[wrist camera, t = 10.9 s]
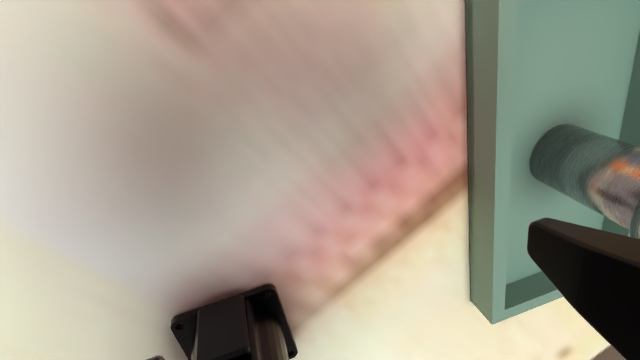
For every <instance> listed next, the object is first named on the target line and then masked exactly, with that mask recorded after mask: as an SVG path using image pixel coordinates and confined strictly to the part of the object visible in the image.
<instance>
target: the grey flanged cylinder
mask: <svg viewBox="0 0 640 360" xmlns="http://www.w3.org/2000/svg"><path fill="white" fill-rule="evenodd" d="M529 166H530V172H531V174H532V176H533V177H534V178H535V179H537V180H538V181H540V182H542V183H544V184H546V185H547V186H549V187H551V188H553V189H555V190H557V191H559V192H560V193H562V194H564V195H566V196H568V197H570V198H571V199H573V200H575V201H577V202H579V203H581V204H582V205H584V206H586V207H588V208H590V209H592V210H593V211H595V212H597V213H599V214H601V215H603V216H605V217H606V218H608V219H610V220H612V221H614V222H616V223H617V224H619V225H621V226H623V227H625V228H627V229H628V230H629V234H630V237H633V238H638V239H640V147H638V146H635V145H632V144H629V143H626V142H623V141H620V140H617V139H614V138H611V137H608V136H605V135H602V134H599V133H596V132H593V131H590V130H587V129H584V128H581V127H578V126H575V125H572V124H563V125H559V126H557V127H555V128H553V129H551V130H549V131H548V132H547V133H546V134H545V135H544V136H543V137H542V138H541V139H540V140H539V141H538V143H537V144H536V146H535V147H534V149H533V151H532V154H531V157H530V164H529Z"/></svg>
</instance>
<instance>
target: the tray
mask: <svg viewBox="0 0 640 360" xmlns="http://www.w3.org/2000/svg"><path fill="white" fill-rule="evenodd" d="M465 9H466V67H467V125H468V183H469V241H470V299H471V302H472V303H473V304H474V305H475V306H476V307H477V308H478V309H479V311H480V312H481V313H482V314H483V315H484V316H485V317H486V318H487V320H488V321H489V322H490V323H491V324H495V323H498V322H500V321H503V320H505V319H508V318H510V317H513V316H515V315H518V314H520V313H523V312H525V311H528V310H530V309H533V308H536V307H538V306H541V305H543V304H546V303H548V302H551V301H553V300H556V299H558V298H561V297H563V295H562V294H561V293H560V292H559V291H558V289H557V288H556V287H555V286H554V285H553V284H552V282H551V281H550V280H549V279H548V278H547V277H546V275H545V274H544V273H543V272H542V271H541V269H540V268H539V267H538V266H537V265H536V264H535V262H534V261H533V260H532V259H531V257H530V256H529V254H528V251H527V239H528V227H529V225H530V223H531V222H533V221H536V220H539V219H542V218H552V219H556V220H561V221H565V222H569V223H573V224H578V225H582V226H586V227H591V228H595V229H599V230H603V231H608V232H612V233H616V234H621V235H625V236H629V237H630V234H629V230H628V229H627V228H625V227H623V226H621V225H619V224H617V223H616V222H614V221H612V220H610V219H608V218H606V217H605V216H603V215H601V214H599V213H597V212H595V211H593V210H592V209H590V208H588V207H586V206H584V205H582V204H581V203H579V202H577V201H575V200H573V199H571V198H570V197H568V196H566V195H564V194H562V193H560V192H559V191H557V190H555V189H553V188H551V187H549V186H547V185H546V184H544V183H542V182H540V181H538V180H537V179H535V178H534V177H533V176H532V174H531V172H530V166H529V164H530V157H531V154H532V151H533V149H534V147H535V146H536V144H537V143H538V141H539V140H540V139H541V138H542V137H543V136H544V135H545V134H546V133H547V132H548V131H549V130H551V129H553V128H555V127H557V126H559V125H563V124H572V125H575V126H578V127H581V128H584V129H587V130H590V131H593V132H596V133H599V134H602V135H605V136H608V137H611V138H614V139H617V140H620V141H623V142H626V143H629V144H632V145H635V146H638V147H640V0H465Z"/></svg>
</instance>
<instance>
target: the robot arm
mask: <svg viewBox="0 0 640 360" xmlns="http://www.w3.org/2000/svg"><path fill="white" fill-rule="evenodd" d="M527 251H528V254H529V256H530V257H531V259H532V260H533V261H534V262H535V264H536V265H537V266H538V267H539V268H540V269H541V271H542V272H543V273H544V274H545V275H546V277H547V278H548V279H549V280H550V281H551V282H552V284H553V285H554V286H555V287H556V288H557V289H558V291H559V292H560V293H561V294H562V295H563V296H564V298H565V299H566V300H567V301H568V302H569V303H570V304H571V306H572V307H573V308H574V309H575V310H576V311H577V312H578V313H579V314H580V315H581V316H582V317H583V318H584V319H585V320H586V321H587V322H588V323H589V324H590V325H591V326H592V327H593V328H594V329H595V330H596V331H597V332H598V333H599V334H600V335H601V336H602V337H603V338H604V339H605V340H606V341H607V342H608V343H610V344H611V345H612V346H613V347H614V348H615V349H616V350H617V351H618V352H619V353H620V354H621V355H622V356H623V357H624V358H625V359H626V360H640V239H638V238H633V237H629V236H625V235H621V234H616V233H612V232H608V231H603V230H599V229H595V228H591V227H586V226H582V225H578V224H573V223H569V222H565V221H561V220H556V219H552V218H542V219H539V220H536V221H533V222H531V223H530V225H529V227H528V239H527ZM268 292H271V294H268V295H267V294H266V293H268ZM180 323H181V324H182V325H177V324H180ZM171 330H172V332H173V334H174V335H175V337H176V339H177V341H178V342H179V344H180V346H181V348H182V349H183V351H184V353H185V355H186V356H187V358H188V360H289V359H292V358H294V357H295V356H296V355H297V353H298V351H297V347H296V344H295V341H294V338H293V335H292V333H291V330H290V327H289V324H288V321H287V318H286V316H285V313H284V310H283V307H282V304H281V301H280V299H279V296H278V293H277V290H276V288H275V287H274V286H273V285H266V286H263V287H260V288H257V289H254V290H251V291H248V292H245V293H242V294H240V295H237V296H234V297H231V298H228V299H225V300H222V301H219V302H216V303H213V304H211V305H208V306H205V307H202V308H199V309H196V310H193V311H190V312H187V313H184V314H181V315H179V316H176V317H174V318H173V319H172V322H171ZM147 360H165V359H164V358H163V357H162V356H155V357H152V358H149V359H147Z"/></svg>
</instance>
